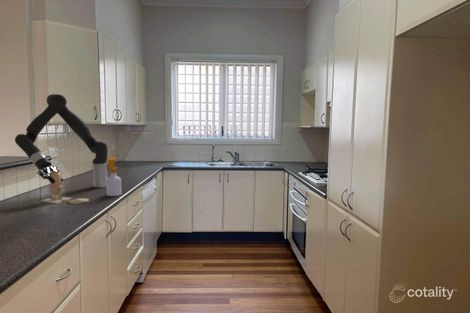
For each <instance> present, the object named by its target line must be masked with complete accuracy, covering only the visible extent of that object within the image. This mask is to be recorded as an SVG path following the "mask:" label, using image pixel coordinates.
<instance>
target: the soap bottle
mask: <svg viewBox="0 0 470 313" xmlns="http://www.w3.org/2000/svg"><path fill="white" fill-rule="evenodd" d="M117 158H118V157H116V156H111V157H109V158H108V159H107V169H110V170H111V172H110V176H108V178H107V180H106V187H105V188H106V196H108V197H117V196H120V195H121V196H122V194H123V193H122V192H123V191H122V178H121V177H120V176H118V175H117V172H116V169H118V167H117V166H116V167H115V161H116V160H117Z"/></svg>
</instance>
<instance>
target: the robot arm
mask: <svg viewBox="0 0 470 313" xmlns="http://www.w3.org/2000/svg"><path fill="white" fill-rule="evenodd" d="M67 102H68V101H67V99H66V96H64V95H63V94H58V93H57V94H56V93H53V94H49V95H48V96H47V97H46V105H48V106H47V107H46V108H45V109H44V110H43V111H42V112H41V113H39V114H38V115H37V116H36V117H35V118H34V119H32V121H31V122H30V123H29V125H28V126H27V127H26V128H25V129H26V130H25V131H26V133H25V134H24V133H19V134H17V135H16V136H15V138H14V142H15V144H16V145H17V146H18V148H20V149H21V150H22V151H23V152H24V153H25V154H26V156H27V157H28V158H29V159H30V161H31V162H32V164H33V165H34V167H36V169H37V170H38V171H37V172H36V173H37V174H38V175H39V176H40V177H41V178H42V179H43V180H48V181H49V183H50V182H51V183H52V184H54V183H55V180H54V179H53V178H52V177H51V175H50V173H52V172H53V171H58V172H61V175H62V174H63V172H62V170H61V169H60V167H59V166H55V167H54V166H53V165H52V161H51V160H50V159H49V158H47V156H46V155H45V153H43V151H41V150H40V149H39V148H38V147H37V146H36V145H35V142H36V140H37V138H38V136H39V134H40V133H41V131H42V130H43V129H44V128H45V127H46V126H47V124H48V123H49V122H50V121H51V120H52V118H54V116H56V115H57V114H58V115H59V116H60V118H61V119H62V120H63V121H64V123H65V124H66V125H68V127H69V128H70V129H71V130H72V131H73V133H75V134H76V136H78V137H79V138H80V140H82V142H84V144H85V145H86V147H87V148H88V149H89V151H90V152H91V153H93V154H95V157H94V158H93V159H92V175H93V176H92V177H93V178H92V180H93V182H92V183H93V188H106V180H107V178H108V177H109V175H108V170H107V169H108V164H107V162H108V154H109V153H108V151H109V150H108V145H107V143H106V142H104V141H98V140H97V139H96V138H95V137H94V136H93V135H92V134H91V130H90V128H89V126H88V125H87V123H86V122H85V121H84V120H83V119H82V118H81V117H80V116H79V115H78V114H76V113H74V112H73V111H72V110H71V109H70V108H69V107H68V106H67ZM64 180H65V179H64V177H63V176H61V183H62V182H63V181H64Z"/></svg>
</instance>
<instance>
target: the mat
mask: <svg viewBox="0 0 470 313" xmlns="http://www.w3.org/2000/svg"><path fill="white" fill-rule="evenodd" d="M88 202H90V198H73V199H71V200H68V204H72V205H80V204H85V203H88Z"/></svg>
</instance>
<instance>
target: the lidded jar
mask: <svg viewBox="0 0 470 313" xmlns="http://www.w3.org/2000/svg"><path fill="white" fill-rule="evenodd" d="M61 172H62V171H61ZM61 172H58V171H53V172H52V173H50V175H51V177H52V178H53V179H54V180H55V183H54V184H52V183H51V182H50V181H49V183H50V184H49V189H50V190H51V189H57V188H63V185H62V182H61V177H62V174H61Z"/></svg>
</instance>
